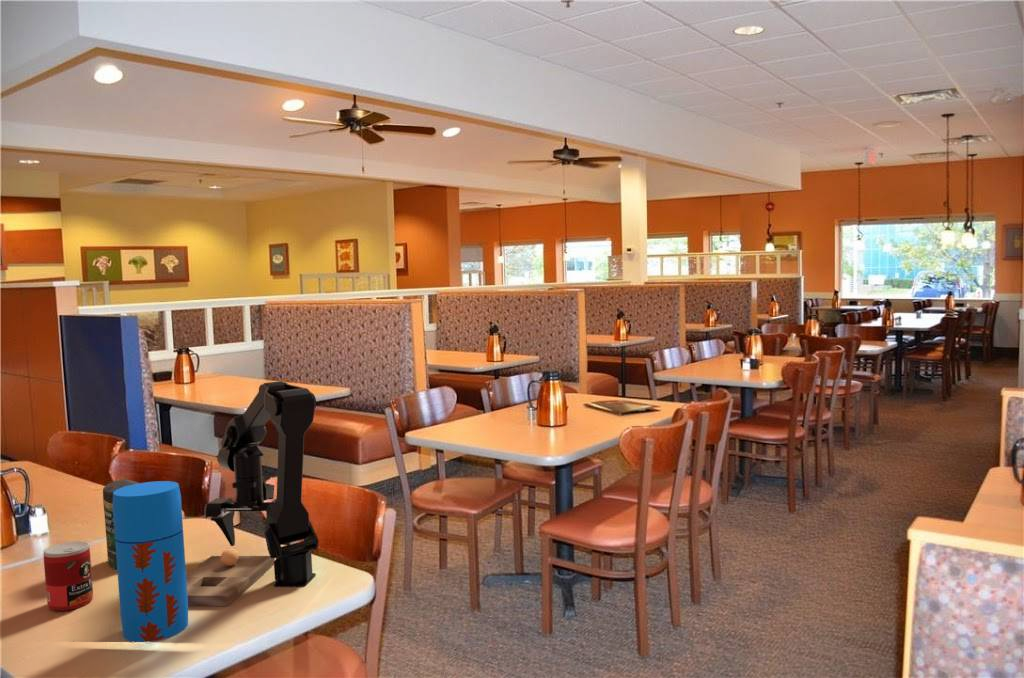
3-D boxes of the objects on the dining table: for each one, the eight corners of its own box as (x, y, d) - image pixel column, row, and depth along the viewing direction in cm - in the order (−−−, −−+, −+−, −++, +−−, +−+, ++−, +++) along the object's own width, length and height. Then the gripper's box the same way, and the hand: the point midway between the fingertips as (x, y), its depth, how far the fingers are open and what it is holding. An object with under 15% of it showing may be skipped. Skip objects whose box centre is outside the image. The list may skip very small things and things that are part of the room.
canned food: (74, 612, 150) (69, 554, 149) (37, 610, 152) (32, 553, 151) (102, 596, 158) (98, 541, 157) (67, 595, 159) (63, 540, 159)
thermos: (136, 618, 146) (126, 482, 144) (197, 614, 147) (188, 479, 145) (111, 645, 135) (101, 498, 134) (177, 640, 136) (167, 494, 134)
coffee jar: (103, 564, 177) (97, 481, 176) (141, 555, 182) (136, 474, 181) (116, 575, 169) (109, 488, 168) (155, 565, 175) (149, 481, 173)
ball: (242, 562, 168) (241, 546, 168) (234, 568, 165) (233, 551, 165) (226, 562, 169) (225, 546, 168) (218, 568, 165) (217, 551, 165)
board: (274, 565, 172) (274, 555, 172) (227, 606, 150) (227, 595, 150) (212, 565, 174) (211, 555, 173) (156, 605, 152) (156, 595, 152)
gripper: (303, 466, 183) (307, 534, 184) (225, 467, 186) (229, 534, 186) (283, 478, 172) (288, 549, 173) (201, 479, 174) (205, 550, 175)
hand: (252, 545), depth 177 cm, fingers open, 9 cm apart
